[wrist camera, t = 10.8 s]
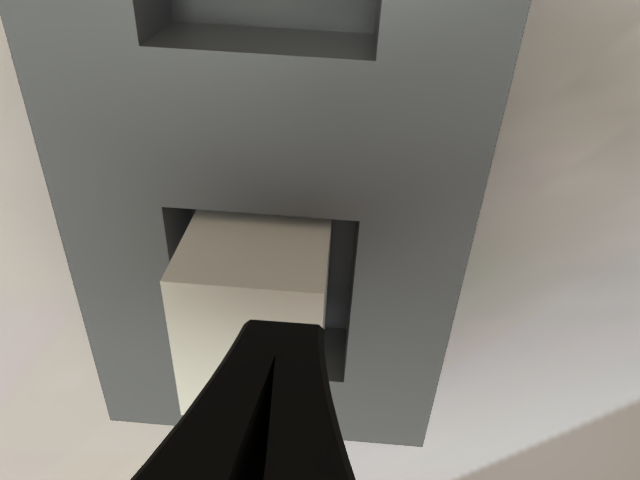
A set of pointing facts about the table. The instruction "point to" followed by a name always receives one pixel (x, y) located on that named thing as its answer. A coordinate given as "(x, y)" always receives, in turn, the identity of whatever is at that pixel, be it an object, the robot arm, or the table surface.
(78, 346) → the table surface
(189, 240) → the plug
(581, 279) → the table surface
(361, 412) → the socket board
